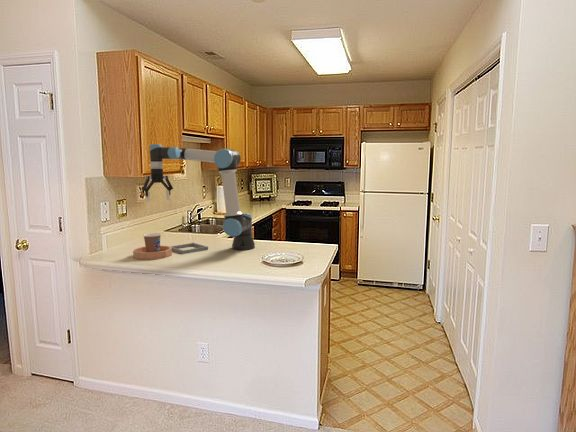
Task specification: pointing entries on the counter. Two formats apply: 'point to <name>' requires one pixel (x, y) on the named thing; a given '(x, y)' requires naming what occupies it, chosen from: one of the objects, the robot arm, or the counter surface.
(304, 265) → the counter surface
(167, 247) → the terracotta bowl
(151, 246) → the coffee cup
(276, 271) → the counter surface
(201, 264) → the counter surface
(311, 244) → the counter surface
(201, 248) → the tray
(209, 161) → the robot arm
